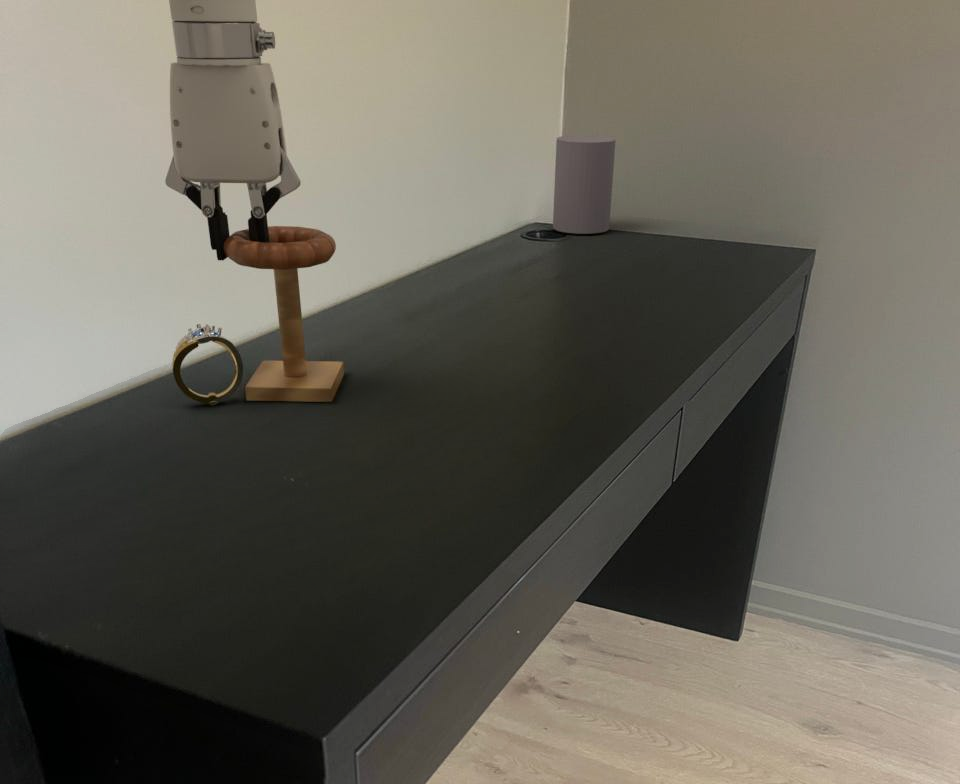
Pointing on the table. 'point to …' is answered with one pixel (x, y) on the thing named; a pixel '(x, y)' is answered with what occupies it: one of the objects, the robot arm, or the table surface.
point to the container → (583, 184)
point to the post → (293, 356)
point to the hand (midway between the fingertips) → (241, 256)
